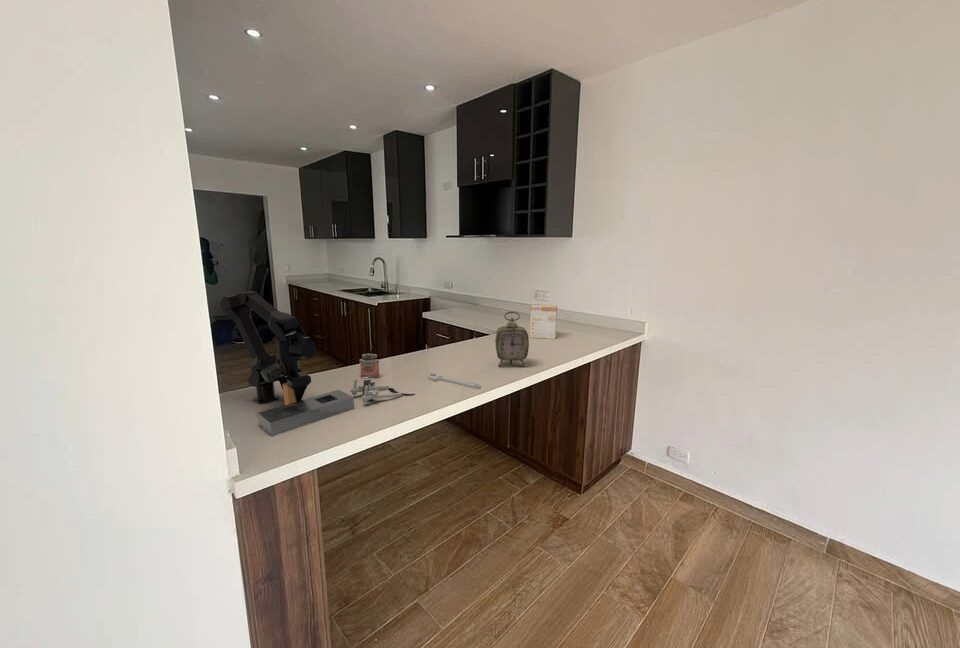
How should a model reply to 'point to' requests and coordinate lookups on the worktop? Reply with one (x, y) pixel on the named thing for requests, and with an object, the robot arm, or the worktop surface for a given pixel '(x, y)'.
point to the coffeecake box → (543, 321)
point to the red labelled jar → (369, 366)
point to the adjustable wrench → (452, 380)
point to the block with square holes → (304, 411)
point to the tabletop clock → (512, 342)
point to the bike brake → (373, 391)
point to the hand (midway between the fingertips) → (292, 399)
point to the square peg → (288, 394)
